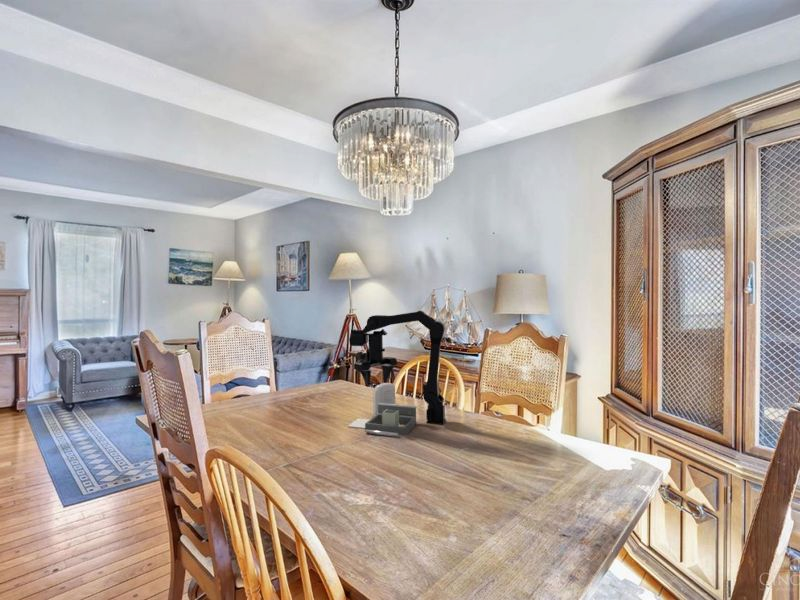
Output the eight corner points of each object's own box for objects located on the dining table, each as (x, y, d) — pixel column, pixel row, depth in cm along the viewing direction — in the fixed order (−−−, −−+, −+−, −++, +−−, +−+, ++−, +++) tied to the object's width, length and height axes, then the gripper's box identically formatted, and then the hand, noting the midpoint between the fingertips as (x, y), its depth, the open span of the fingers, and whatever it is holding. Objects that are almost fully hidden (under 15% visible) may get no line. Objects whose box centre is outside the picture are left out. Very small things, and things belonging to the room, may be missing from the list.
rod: (398, 436, 145) (398, 432, 145) (397, 437, 144) (397, 433, 144) (367, 432, 149) (367, 428, 149) (365, 434, 147) (365, 430, 147)
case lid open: (416, 422, 160) (416, 406, 160) (415, 424, 159) (415, 407, 159) (378, 419, 165) (378, 402, 165) (376, 420, 164) (376, 403, 164)
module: (398, 425, 157) (398, 409, 157) (394, 430, 152) (394, 413, 152) (386, 424, 158) (386, 408, 158) (382, 428, 154) (382, 412, 154)
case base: (414, 424, 159) (414, 416, 159) (405, 434, 147) (405, 426, 147) (377, 420, 164) (377, 413, 164) (365, 430, 152) (365, 422, 152)
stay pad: (374, 421, 163) (374, 420, 163) (364, 428, 153) (364, 427, 153) (358, 419, 165) (358, 418, 165) (347, 426, 155) (347, 425, 155)
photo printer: (389, 408, 180) (389, 380, 180) (396, 410, 177) (396, 382, 177) (371, 413, 173) (372, 384, 173) (378, 415, 170) (378, 386, 170)
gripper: (379, 342, 178) (380, 378, 178) (345, 347, 165) (345, 385, 165) (397, 344, 170) (398, 382, 170) (362, 349, 157) (363, 389, 157)
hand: (376, 384), depth 166 cm, fingers open, 9 cm apart
